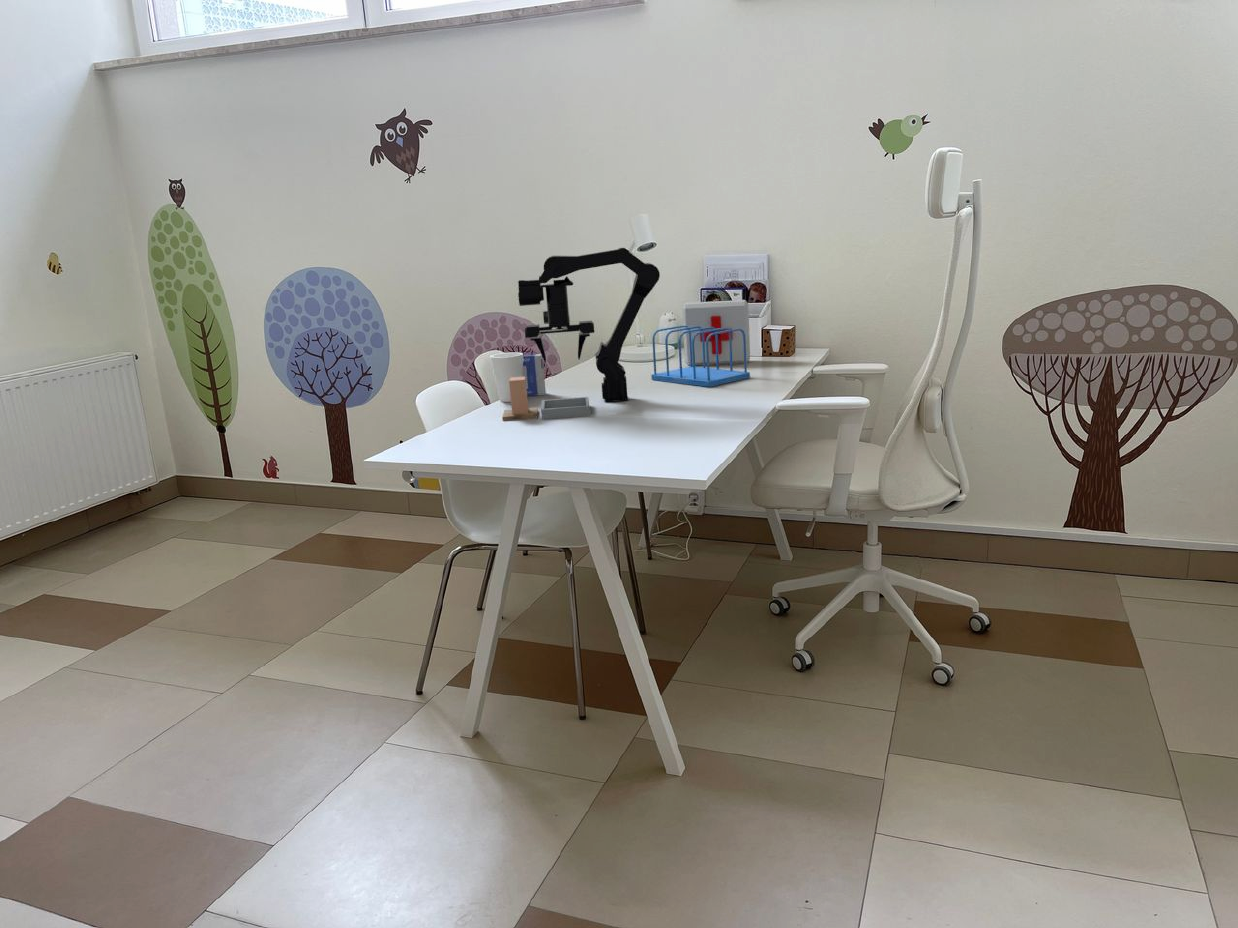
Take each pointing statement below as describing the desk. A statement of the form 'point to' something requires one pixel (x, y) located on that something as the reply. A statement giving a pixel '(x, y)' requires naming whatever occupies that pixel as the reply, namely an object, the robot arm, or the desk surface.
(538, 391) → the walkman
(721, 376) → the file sorter
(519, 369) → the foam cup
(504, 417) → the coaster
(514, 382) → the block
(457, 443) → the desk surface
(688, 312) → the bevelled white case
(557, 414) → the tray
